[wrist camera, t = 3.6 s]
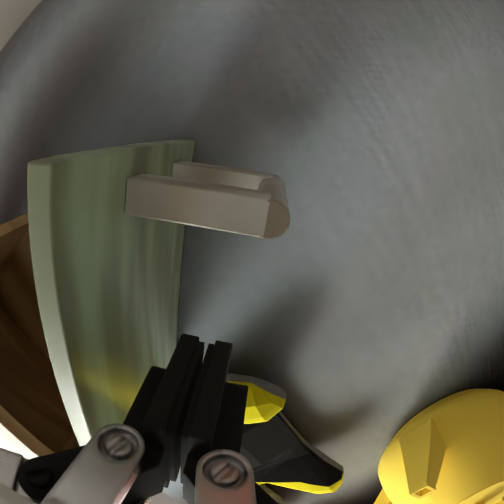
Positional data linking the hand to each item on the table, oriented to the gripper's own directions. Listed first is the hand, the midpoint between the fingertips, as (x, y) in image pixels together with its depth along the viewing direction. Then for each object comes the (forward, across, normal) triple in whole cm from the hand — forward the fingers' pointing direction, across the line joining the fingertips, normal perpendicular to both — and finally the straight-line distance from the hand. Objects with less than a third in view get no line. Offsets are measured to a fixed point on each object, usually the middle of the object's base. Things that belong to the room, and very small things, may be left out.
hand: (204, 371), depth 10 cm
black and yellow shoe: (+10, -4, +14) cm, 17 cm away
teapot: (+10, -23, +15) cm, 29 cm away
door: (+10, +1, 0) cm, 10 cm away
